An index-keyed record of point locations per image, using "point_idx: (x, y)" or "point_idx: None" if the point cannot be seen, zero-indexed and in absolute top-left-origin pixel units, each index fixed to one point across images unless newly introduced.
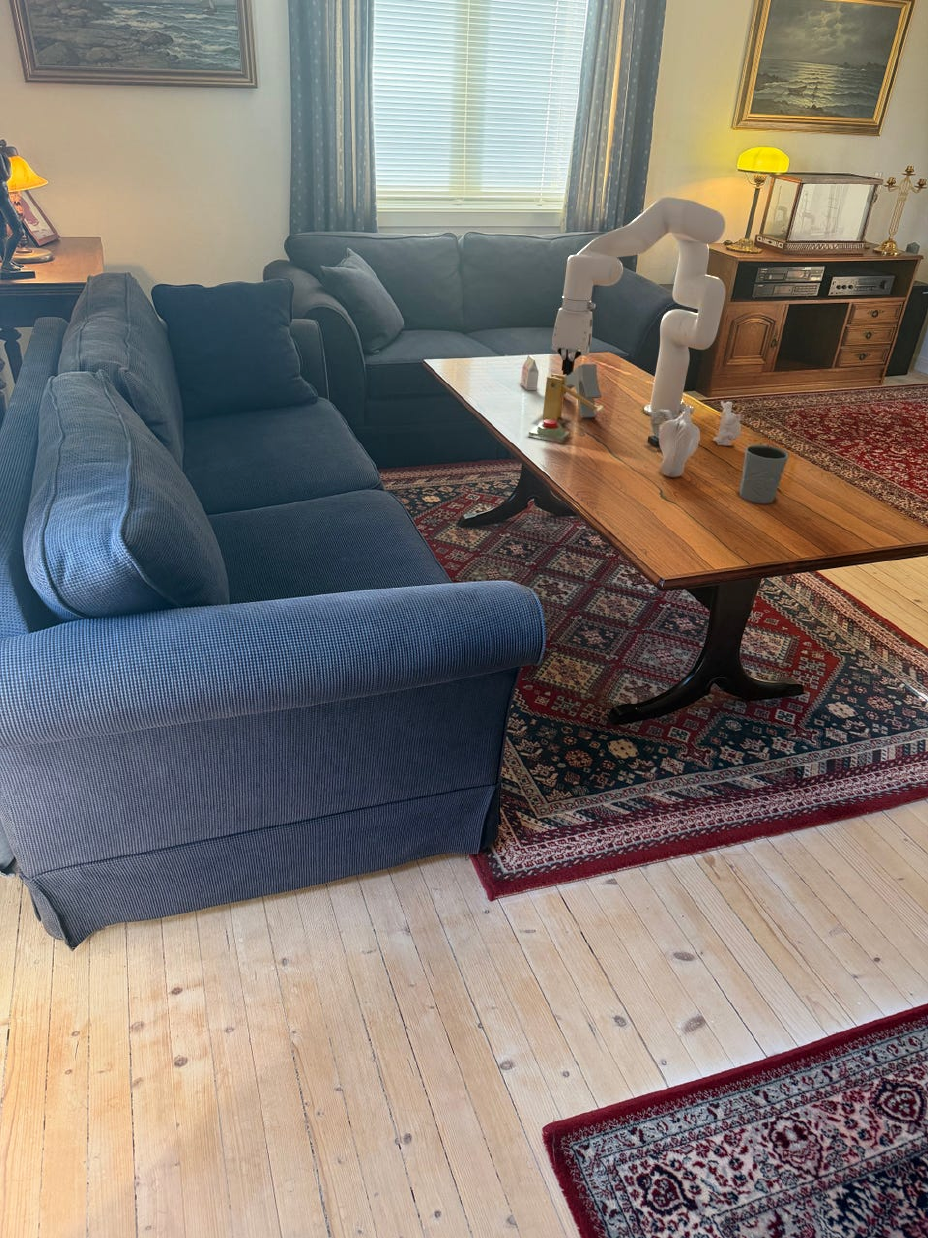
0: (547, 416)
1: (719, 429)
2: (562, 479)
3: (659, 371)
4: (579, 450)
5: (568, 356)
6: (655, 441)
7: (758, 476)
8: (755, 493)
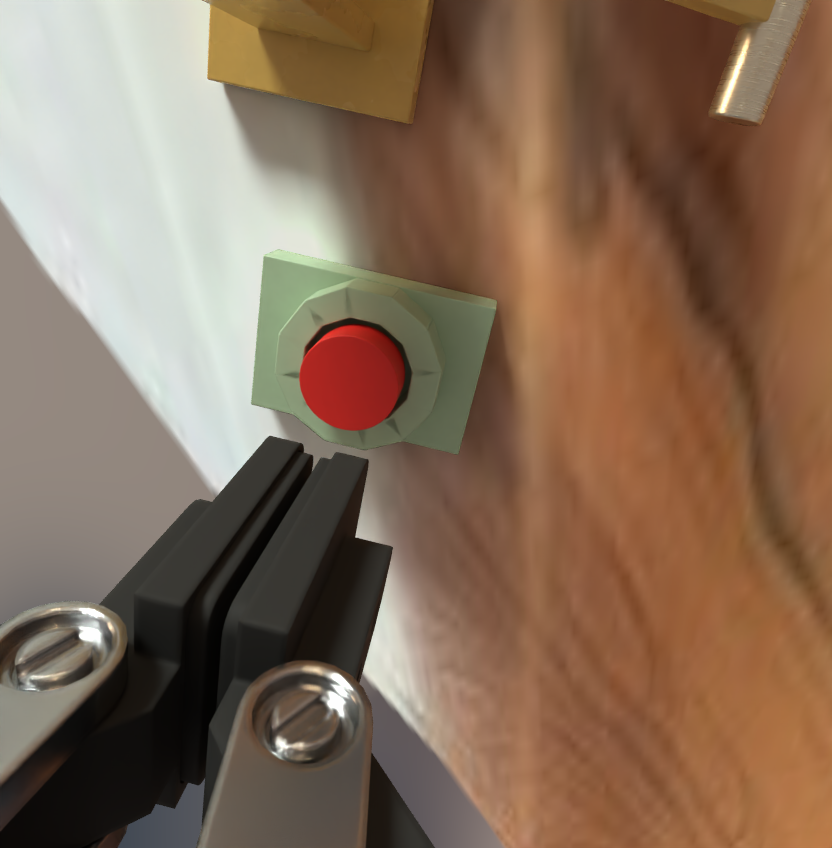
0: (285, 30)
1: None
2: (502, 798)
3: None
4: (569, 496)
5: (135, 721)
6: None
7: None
8: None
